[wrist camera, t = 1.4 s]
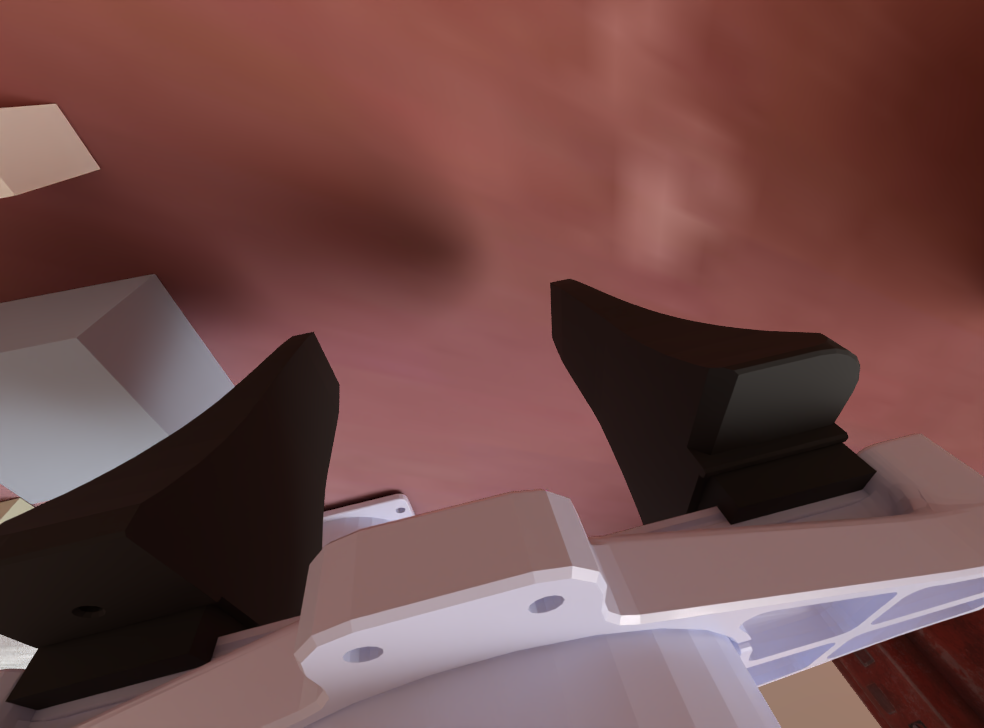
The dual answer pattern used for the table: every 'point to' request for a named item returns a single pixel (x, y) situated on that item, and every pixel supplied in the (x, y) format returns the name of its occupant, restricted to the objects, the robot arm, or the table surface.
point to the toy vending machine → (923, 676)
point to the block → (95, 382)
